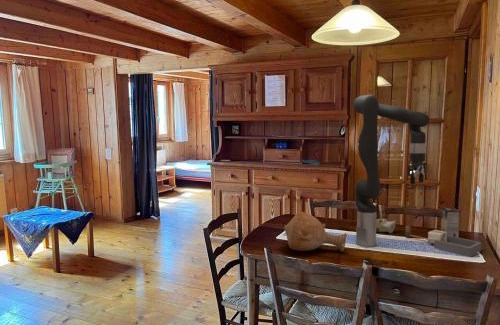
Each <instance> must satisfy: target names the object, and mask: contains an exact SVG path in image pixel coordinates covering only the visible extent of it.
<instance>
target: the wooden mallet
mask: <svg viewBox="0 0 500 325" xmlns="http://www.w3.org/2000/svg"><path fill="white" fill-rule="evenodd" d="M404 235H405V237H404V238H407V239H408V238H409V239H411V237H414V238H418V239H422V240H427V242H428V243H431V244H434V240H439V241H443V242H447V232H444V231H441V230H440V229H439V230H438V229H433V230H430V231H428V232H427V238H426V237H423V236H419V235H413V234H412V226H411V225H405V234H404Z"/></svg>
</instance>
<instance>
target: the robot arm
mask: <svg viewBox="0 0 500 325" xmlns="http://www.w3.org/2000/svg"><path fill="white" fill-rule="evenodd" d="M353 109H354V110H355V111H356V113H358V114H361V115H362V117H363V118H362V120H363V122H362V128H361V131H360V133H359V136H358V141H357V142H358V143H357V147H358V152H357V153H358V158H359V159H360V160H361V163H362V164H363V166H364V169H365V171H366V179H365V178H362V179H359V180H358V181H357V182H356V185H355V205H356V208H357V213H356V214H357V215H356V216H357V220H356V222H357V223H356V226H355V230H356V231H355V235H356V236H355V244H356V245H358V246H360V245H361V247H364V248H368V247H375V246H376V245H377V231H376V220H377V206H376V205H375V203H373V202H372V200H375V199H377V198H378V197H379V196H380V193H381V179H380V172H379V154H378V153H379V152H378V151H379V143H378V121H379V117H382V118H385V119H389V120H392V121H394V122H399V123H402V124H408V125H407V126H408V130H409V134H410V143H409V145H410V146H409V161H410V162H411V163H409V164H407V176H409V178H410V180H409V182H410V184H411V185H416V175H417V174H418V183H424V178H425V174H427V162H426V157H427V156H426V155H427V154H426V153H427V151H426V150H427V146H426V138H427V137H426V132H423V131H422V129H421V128H423V127H426V126H428V125H429V124H430V117H429V115H428V114H427V113H425V112H421V111H417V110H416V111H415V110H410V109H407V108H404V107H401V106H396V105H389V104H384V103H379V99H378V98H377V97H376V95H375V94H362V95H360V96H357V97H356V98H355V99H354V101H353ZM370 199H371V200H370Z"/></svg>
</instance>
